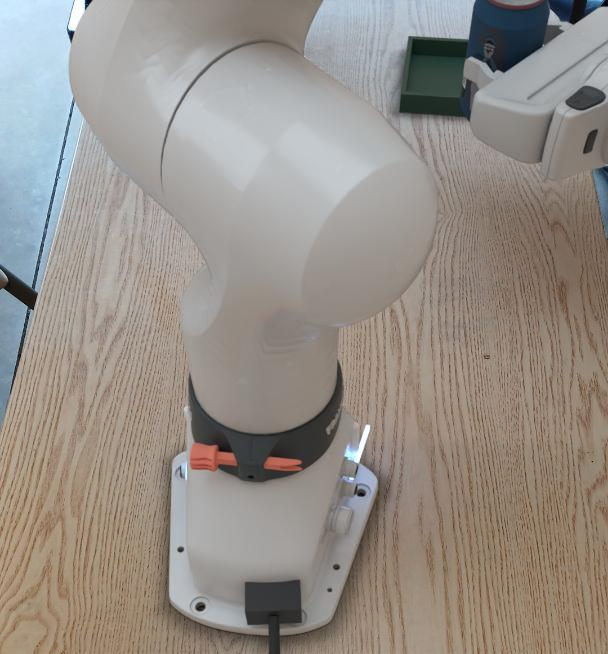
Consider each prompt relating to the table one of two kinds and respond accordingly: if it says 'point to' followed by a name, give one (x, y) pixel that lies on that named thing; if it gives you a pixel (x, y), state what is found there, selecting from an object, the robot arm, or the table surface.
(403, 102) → the serving tray
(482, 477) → the table surface
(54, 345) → the table surface
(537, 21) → the soda can
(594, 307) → the table surface
